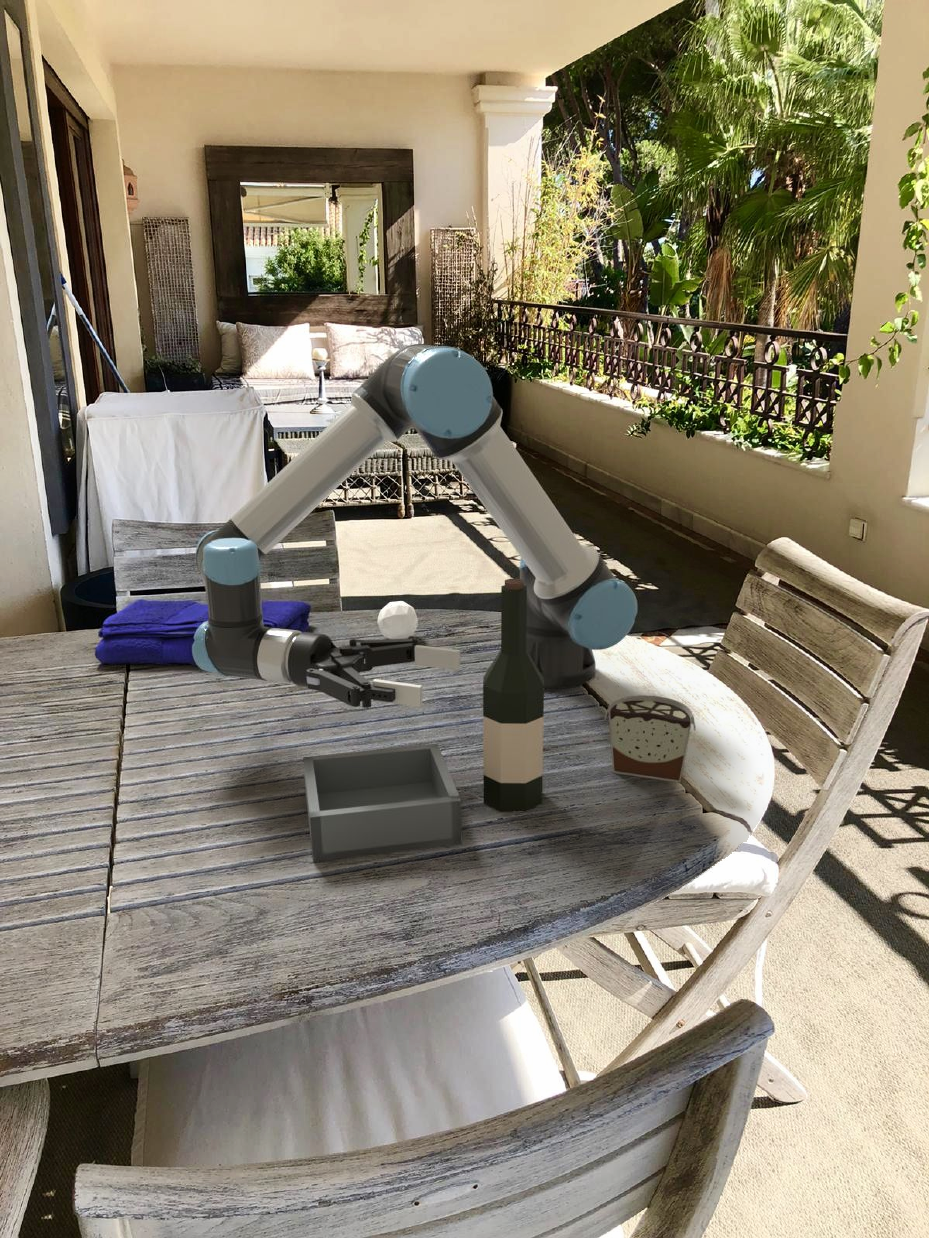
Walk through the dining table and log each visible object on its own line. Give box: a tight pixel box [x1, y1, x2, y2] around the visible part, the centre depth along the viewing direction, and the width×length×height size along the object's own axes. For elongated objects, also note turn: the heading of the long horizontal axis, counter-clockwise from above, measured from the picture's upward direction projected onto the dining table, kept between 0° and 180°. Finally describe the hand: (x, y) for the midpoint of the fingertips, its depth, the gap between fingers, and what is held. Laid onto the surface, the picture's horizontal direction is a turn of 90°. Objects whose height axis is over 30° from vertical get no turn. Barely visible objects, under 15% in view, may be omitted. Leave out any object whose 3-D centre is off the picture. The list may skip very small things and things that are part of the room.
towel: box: [94, 598, 312, 667], centre depth 188 cm, size 26×36×9 cm
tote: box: [302, 743, 463, 863], centre depth 124 cm, size 18×16×6 cm
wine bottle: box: [482, 578, 545, 813], centre depth 126 cm, size 8×8×30 cm
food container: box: [603, 694, 696, 783], centre depth 137 cm, size 12×6×10 cm, turn 71°
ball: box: [376, 600, 419, 639], centre depth 190 cm, size 8×8×8 cm
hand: (441, 677), depth 129 cm, fingers open, 13 cm apart
